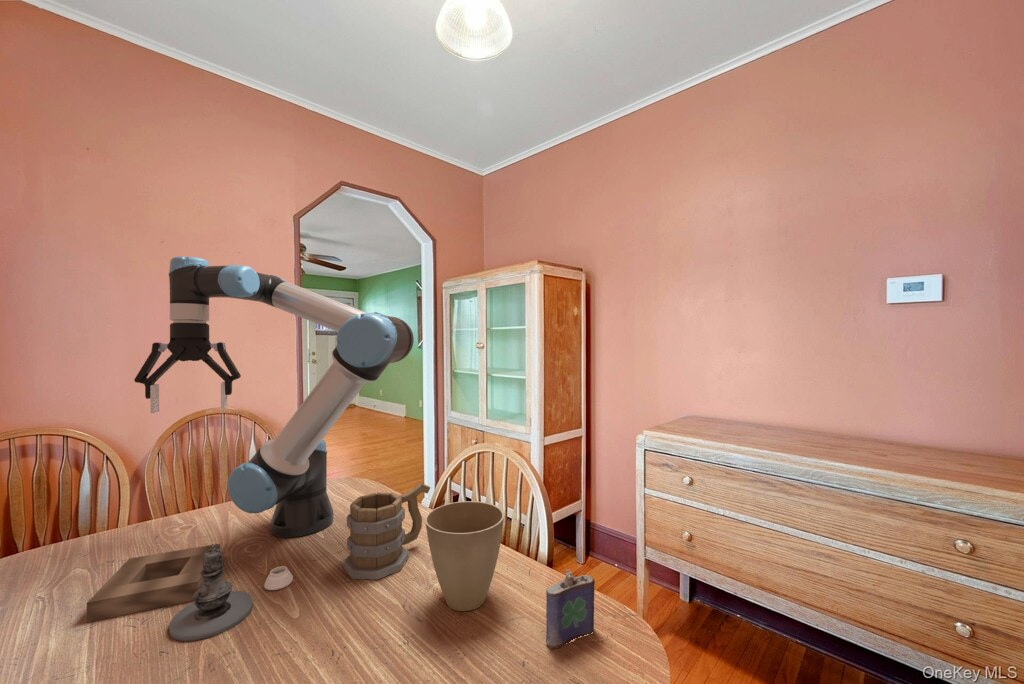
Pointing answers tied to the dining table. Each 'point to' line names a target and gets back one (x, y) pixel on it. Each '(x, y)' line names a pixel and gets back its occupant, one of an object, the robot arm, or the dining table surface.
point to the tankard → (380, 533)
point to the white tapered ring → (278, 578)
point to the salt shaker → (212, 588)
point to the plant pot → (465, 550)
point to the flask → (569, 609)
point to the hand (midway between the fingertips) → (190, 410)
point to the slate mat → (192, 630)
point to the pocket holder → (149, 583)
